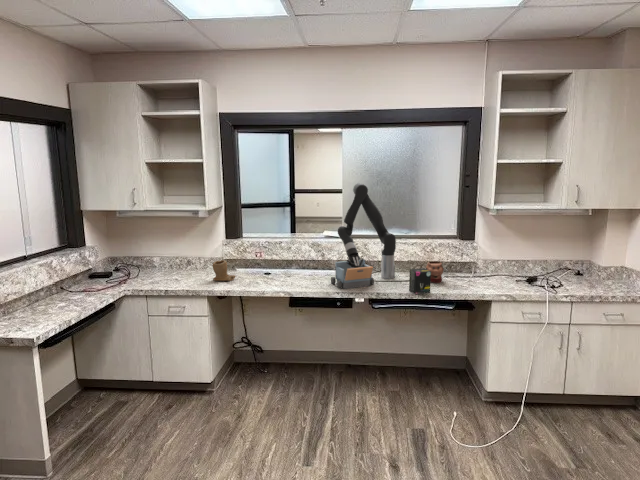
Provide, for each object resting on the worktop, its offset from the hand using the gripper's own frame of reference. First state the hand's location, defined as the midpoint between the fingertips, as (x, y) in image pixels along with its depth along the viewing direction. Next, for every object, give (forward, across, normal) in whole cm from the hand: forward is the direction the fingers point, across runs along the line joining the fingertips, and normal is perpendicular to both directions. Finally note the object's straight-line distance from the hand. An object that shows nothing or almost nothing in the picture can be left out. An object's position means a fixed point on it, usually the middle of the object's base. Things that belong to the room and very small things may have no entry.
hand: (358, 271), depth 279 cm
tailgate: (+3, 0, +5) cm, 6 cm away
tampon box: (+24, +33, -7) cm, 42 cm away
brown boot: (-31, -83, +48) cm, 101 cm away
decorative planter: (+10, +58, +6) cm, 59 cm away
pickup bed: (0, 0, +16) cm, 16 cm away
